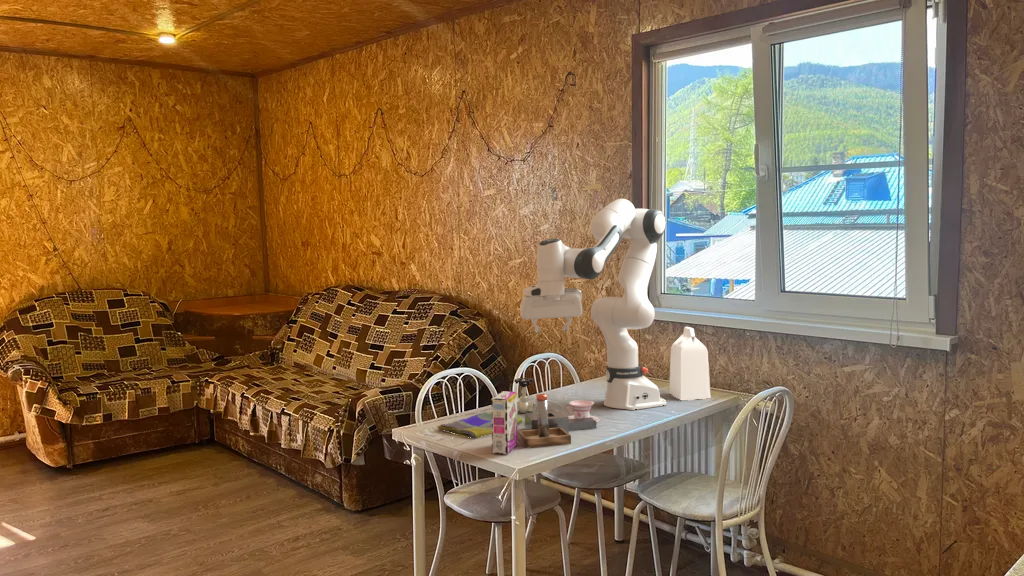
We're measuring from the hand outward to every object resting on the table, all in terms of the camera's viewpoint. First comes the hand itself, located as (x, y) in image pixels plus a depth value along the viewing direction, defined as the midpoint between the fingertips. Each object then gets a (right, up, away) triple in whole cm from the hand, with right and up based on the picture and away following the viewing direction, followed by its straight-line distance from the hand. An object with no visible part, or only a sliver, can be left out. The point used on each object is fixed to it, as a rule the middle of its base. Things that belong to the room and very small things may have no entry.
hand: (551, 331), depth 251 cm
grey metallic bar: (-3, -32, -15) cm, 35 cm away
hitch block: (+3, -31, -2) cm, 31 cm away
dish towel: (-23, -32, +3) cm, 40 cm away
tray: (-3, -33, -15) cm, 36 cm away
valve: (-9, -30, +21) cm, 38 cm away
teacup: (+10, -31, +8) cm, 33 cm away
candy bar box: (-15, -34, -22) cm, 43 cm away
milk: (+54, -27, +39) cm, 72 cm away
